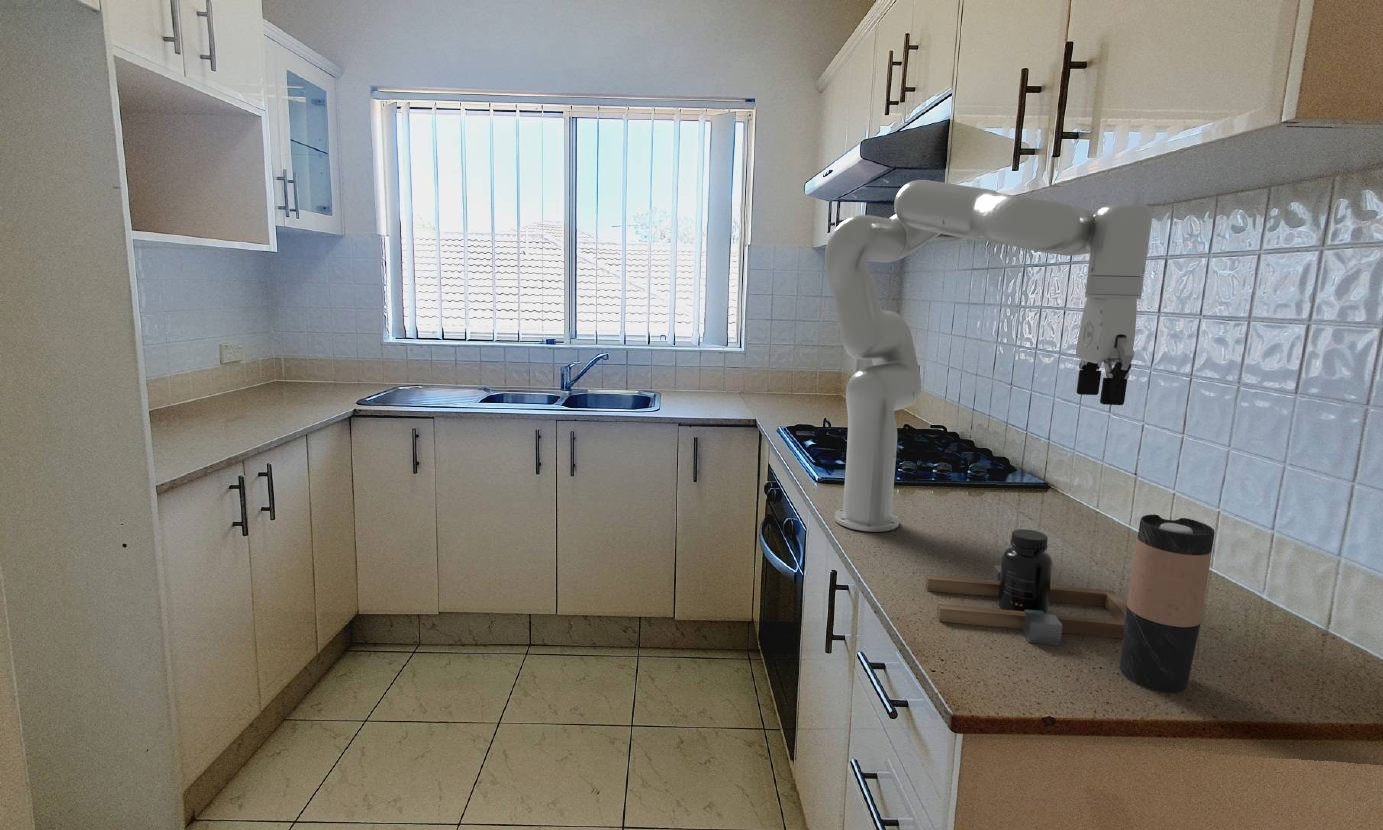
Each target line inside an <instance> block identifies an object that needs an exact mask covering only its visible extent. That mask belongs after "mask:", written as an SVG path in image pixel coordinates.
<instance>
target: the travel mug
mask: <svg viewBox="0 0 1383 830" xmlns="http://www.w3.org/2000/svg"><path fill="white" fill-rule="evenodd" d="M1215 534H1216V532H1215V530H1214V528H1213V527H1211V526H1210V525H1208V524H1206V523H1203V522H1201V521H1198V520H1194V519H1192V518H1191V519H1190V518H1186V517H1181V518H1178V519H1166V518H1162V517H1161V516H1160V515H1158V514H1154V513H1153V514H1146V515H1143V516H1141V518H1140V520H1139V526H1138V533H1137V539H1136V543H1135V545H1136V546H1135V551H1134V557H1133V564H1132V570H1131V577H1130V582H1129V589H1128V593H1127V600H1126V605H1127V607H1126V617H1125V626H1124V635H1123V638H1122V646H1121V652H1120V666H1119V667H1120V671H1121V674H1122V675H1123V676H1124V677H1125V678H1126V679H1128V681H1131V682H1133V683H1135V684H1136V685H1139V686H1142V687H1143V688H1146V689H1150V690H1153V691H1157V692H1163V693H1170V694H1171V693H1172V694H1173V693H1180V692H1183V691H1185V690H1186V689H1187V687H1188V683H1189V678H1190V675H1191V670H1192V665H1193V661H1194V655H1195V651H1196V647H1197V646H1196V645H1197V642H1198V637H1199V632H1200V628H1201V622H1202V615H1203V611H1204V603H1205V599H1206V597H1205V596H1206V591H1207V584H1208V577H1209V572H1210V571H1209V570H1210V567H1211V566H1210V565H1211V561H1212V551H1213V547H1214V540H1215Z"/></svg>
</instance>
